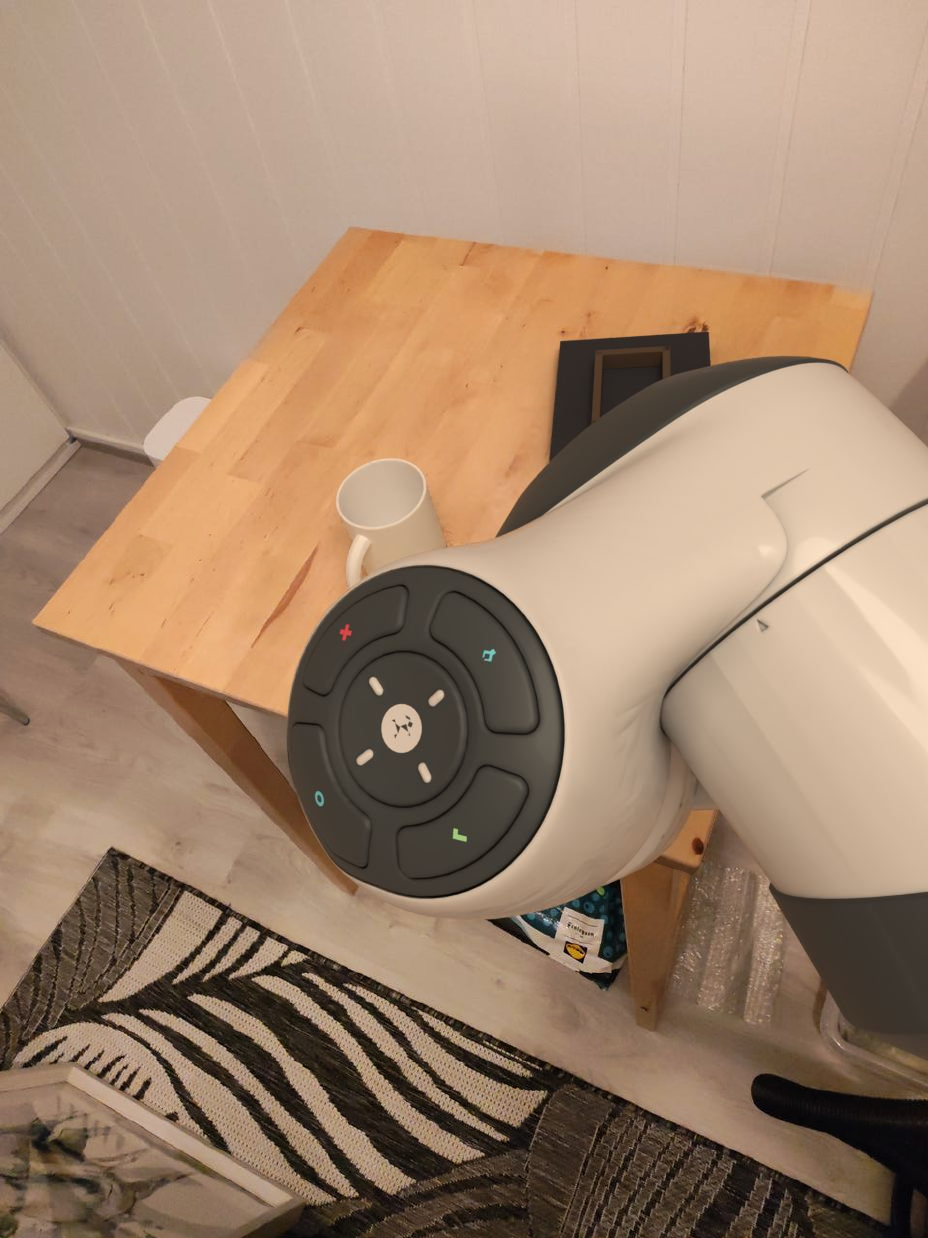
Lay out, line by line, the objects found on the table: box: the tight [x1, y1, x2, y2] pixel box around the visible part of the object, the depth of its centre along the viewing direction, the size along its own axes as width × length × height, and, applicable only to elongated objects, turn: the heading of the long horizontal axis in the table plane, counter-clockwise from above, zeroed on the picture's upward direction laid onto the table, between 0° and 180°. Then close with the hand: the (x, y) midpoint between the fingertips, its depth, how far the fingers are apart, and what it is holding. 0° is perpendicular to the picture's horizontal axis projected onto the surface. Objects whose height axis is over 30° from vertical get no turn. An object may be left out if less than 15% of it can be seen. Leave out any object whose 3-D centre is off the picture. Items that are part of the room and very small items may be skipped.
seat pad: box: [548, 331, 712, 463], centre depth 83 cm, size 16×20×4 cm
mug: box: [335, 457, 447, 590], centre depth 74 cm, size 12×8×10 cm
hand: (633, 776), depth 44 cm, fingers open, 8 cm apart
